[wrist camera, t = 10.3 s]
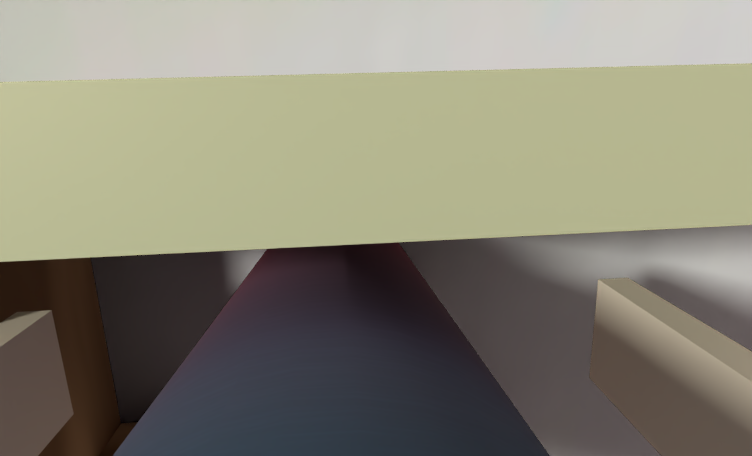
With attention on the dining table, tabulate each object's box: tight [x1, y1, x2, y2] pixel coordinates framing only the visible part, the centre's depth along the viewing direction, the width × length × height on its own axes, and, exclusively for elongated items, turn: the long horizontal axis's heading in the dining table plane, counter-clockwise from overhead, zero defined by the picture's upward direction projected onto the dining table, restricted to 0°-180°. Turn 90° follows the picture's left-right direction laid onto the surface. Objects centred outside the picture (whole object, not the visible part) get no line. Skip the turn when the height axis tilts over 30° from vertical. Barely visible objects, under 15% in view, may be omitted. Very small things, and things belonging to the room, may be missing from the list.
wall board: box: [0, 63, 752, 262], centre depth 10 cm, size 24×2×9 cm, turn 92°
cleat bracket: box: [0, 258, 138, 456], centre depth 13 cm, size 13×10×5 cm
